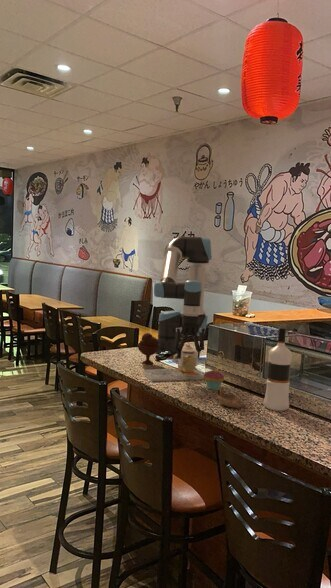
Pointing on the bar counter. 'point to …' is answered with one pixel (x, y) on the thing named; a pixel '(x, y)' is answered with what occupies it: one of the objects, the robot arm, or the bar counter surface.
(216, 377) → the cupcake
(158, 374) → the grey flat slab
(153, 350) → the ice cream bowl
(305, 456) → the bar counter surface
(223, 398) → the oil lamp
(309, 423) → the bar counter surface
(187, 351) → the teacup with lid
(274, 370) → the vodka
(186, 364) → the beige upright block
